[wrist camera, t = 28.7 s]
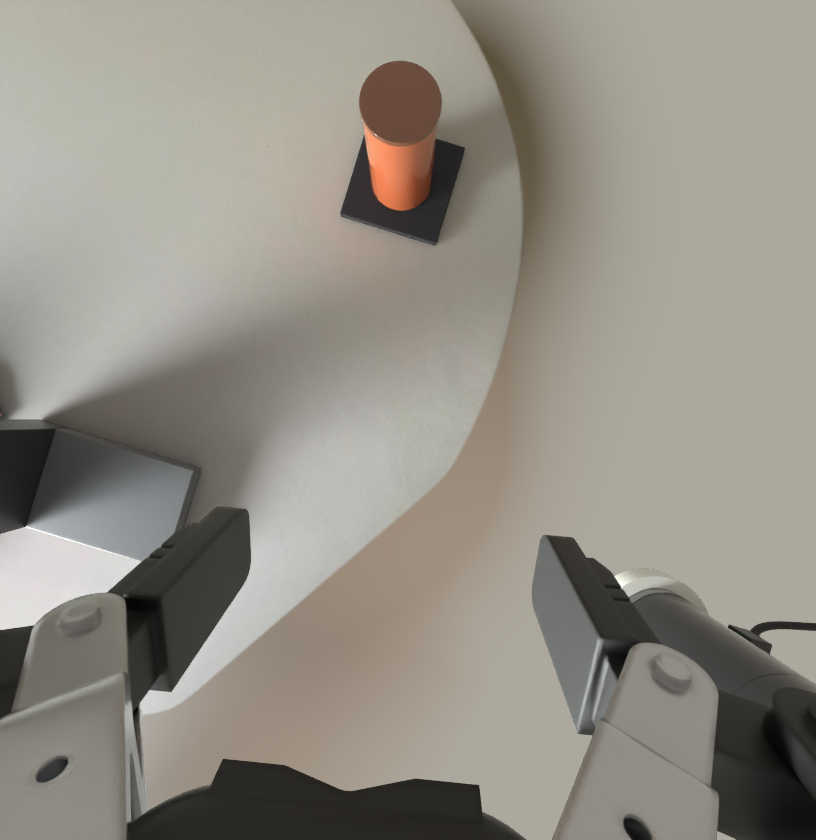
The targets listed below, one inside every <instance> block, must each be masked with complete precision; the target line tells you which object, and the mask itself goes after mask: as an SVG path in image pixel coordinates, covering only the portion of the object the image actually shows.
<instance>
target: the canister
mask: <svg viewBox="0 0 816 840" xmlns="http://www.w3.org/2000/svg"><path fill="white" fill-rule="evenodd" d="M441 106H442V99H441V93H440V90H439V87H438V85H437V83H436V81H435V79H434V78H433V77H432V75H431V74H430V73H429V72H428V71H427V70H425V69H424V68H423V67H421V66H419V65H417V64H414V63H411V62H407V61H393V62H389V63H386V64H383V65H381V66H380V67H378V68H376V69H375V70H374V71H373V72H372V73H371V74H370V75H369V76H368V77H367V79H366V80H365V82H364V84H363V86H362V89H361V92H360V97H359V108H360V114H361V118H362V120H363V126H364V134H365V141H366V148H367V155H368V162H369V169H370V176H371V183H372V188H373V191H374V194H375V195H376V197H377V199H378V200H379V201H380V202H381V203H382V204H384V205H385V206H386V207H388V208H391V209H393V210H399V211H405V210H410V209H413V208H415V207H417V206H418V205H420V204H421V203H422V202H423V201H424V200H425V199H426V197H427V196H428V194H429V191H430V188H431V183H432V174H433V165H434V156H435V148H436V139H437V130H438V121H439V118H440V114H441Z"/></svg>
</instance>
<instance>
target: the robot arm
mask: <svg viewBox="0 0 816 840" xmlns="http://www.w3.org/2000/svg"><path fill="white" fill-rule="evenodd" d="M250 564H251V548H250V524H249V513H248V511H247V510H246V509H241V508H230V507H216V508H215V509H213V510H212V511H211V512H210V513H209V514H208V515H207V516H206V517H205V518H204V519H203V520H202V521H201V522H200V523H193V524H191V525H189V526H187V527H185V528H183V529H181V530H179V531H177V532H175V533H174V534H173V535H172V536H171V537H169V538H168V539H167V540H166V541H165V542H164V543H163V544H161V547H158V548H157V549H156V550H155V551H154V552H152V553H151V554H150V555H149V558H146V559H144V560H143V561H142V562H141V563H140V564H139V565H138V566H136V567H135V568H134V569H133V570H132V571H131V572H130V573H129V574H127V575H126V576H125V577H124V578H123V579H122V580H121V581H119V582H118V583H117V584H116V585H115V586H114V587H113V588H112V589H110V590H109V591H108V592H107V593H96V594H90V595H85V596H82V597H78V598H75V599H73V600H70V601H68V602H66V603H63V604H61V605H59V606H58V607H56V608H54V609H53V610H51V611H50V612H48V613H47V614H45V615H44V616H43V617H42V618H41V619H40V620H39V621H38V622H37V623H36V624H35V625H34V626H27V627H20V628H13V629H6V630H0V840H526V839H525V838H524V837H522V836H521V835H520V834H518V833H517V832H516V831H514V830H513V829H512V828H510V827H509V826H508V825H506V824H504V823H503V822H501V821H499V820H498V819H496V818H494V817H493V816H490V815H488V814H486V813H484V812H482V808H481V798H480V789H479V785H472V784H462V783H452V782H443V781H433V780H423V779H412V780H406V781H401V782H396V783H391V784H386V785H381V786H376V787H371V788H367V789H361V790H356V791H343V790H340V789H338V788H335V787H333V786H331V785H329V784H326V783H324V782H322V781H320V780H317V779H315V778H313V777H310V776H308V775H306V774H304V773H301V772H299V771H297V770H294V769H292V768H290V767H288V766H285V765H277V764H267V763H258V762H248V761H238V760H228V759H223V760H222V762H221V764H220V767H219V769H218V771H217V773H216V775H215V778H214V780H213V782H212V784H211V785H207V786H202V787H199V788H196V789H193V790H190V791H187V792H184V793H182V794H180V795H177V796H175V797H173V798H171V799H168V800H166V801H165V802H163V803H161V804H159V805H157V806H156V807H154V808H152V809H150V810H149V811H147V805H146V790H145V773H144V754H143V736H142V719H141V707H140V702H141V701H142V699H143V698H144V696H145V695H146V694H147V692H148V691H149V690H157V691H167V692H172V690H173V689H174V687H175V686H176V684H177V683H178V681H179V680H180V678H181V677H182V675H183V674H184V672H185V671H186V669H187V668H188V666H189V665H190V663H191V662H192V660H193V659H194V657H195V656H196V655H197V653H198V652H199V650H200V649H201V647H202V646H203V644H204V643H205V641H206V640H207V638H208V637H209V635H210V634H211V632H212V631H213V629H214V628H215V626H216V625H217V623H218V622H219V620H220V619H221V617H222V616H223V614H224V613H225V611H226V610H227V608H228V607H229V605H230V604H231V602H232V601H233V599H234V598H235V596H236V595H237V593H238V592H239V590H240V589H241V587H242V586H243V584H244V583H245V581H246V579H247V576H248V573H249V570H250ZM532 602H533V607H534V611H535V614H536V617H537V619H538V622H539V625H540V628H541V631H542V633H543V636H544V639H545V642H546V645H547V648H548V650H549V653H550V656H551V659H552V661H553V665H554V667H555V670H556V673H557V676H558V678H559V682H560V684H561V687H562V690H563V693H564V696H565V698H566V701H567V704H568V707H569V710H570V712H571V715H572V718H573V721H574V724H575V727H576V729H577V732H578V734H585V735H593V736H592V739H591V741H590V744H589V746H588V749H587V752H586V754H585V757H584V759H583V762H582V764H581V767H580V769H579V772H578V774H577V777H576V780H575V782H574V785H573V787H572V790H571V792H570V795H569V798H568V800H567V802H566V805H565V808H564V810H563V813H562V815H561V818H560V821H559V823H558V826H557V828H556V830H555V833H554V836H553V838H552V840H717V831H719V832H721V833H724V834H726V835H728V836H730V837H733V838H735V839H736V840H816V684H815V683H813V682H811V681H810V680H808V679H806V678H805V677H803V676H802V675H800V674H799V673H797V672H796V671H794V670H793V669H791V668H789V667H788V666H786V665H785V664H783V663H782V662H780V661H779V660H777V659H776V658H774V657H773V656H771V655H770V651H771V648H772V645H771V644H770V643H768V642H766V641H765V640H763V639H762V638H760V636H759V635H760V634H761V633H762V632H765V631H768V630H773V629H795V630H809V631H810V630H811V631H816V623H801V622H765V623H761V624H758V625H756V626H754V627H753V628H752V629H751V631H749V630H746V629H742V628H739V627H736V626H732V625H729V626H728V627H726V626H725V625H723V624H722V623H720V622H718V621H717V620H715V619H714V618H712V617H711V616H709V615H708V614H706V613H705V612H703V611H702V610H700V609H699V608H697V607H695V606H694V605H693V604H691V603H690V602H689V601H688V600H686V599H685V598H683V597H682V596H680V595H679V594H677V593H675V592H673V591H670V590H667V589H661V588H650V589H645V590H642V591H639V592H637V593H635V594H633V595H631V596H630V597H628V596H627V594H626V593H625V591H624V590H623V589H621V586H620V584H619V583H618V581H617V580H616V578H615V577H614V576H613V574H612V573H611V571H609V570H608V569H607V568H606V567H604V566H603V565H602V564H600V563H599V562H598V561H596V560H595V559H594V558H586V556H585V555H584V553H583V552H582V550H581V549H580V547H579V546H578V544H577V542H576V541H575V539H574V538H572V537H562V536H550V535H543V536H542V538H541V540H540V545H539V550H538V556H537V561H536V567H535V573H534V578H533V584H532Z"/></svg>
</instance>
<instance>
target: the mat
mask: <svg viewBox="0 0 816 840" xmlns="http://www.w3.org/2000/svg"><path fill="white" fill-rule="evenodd" d="M464 150H465V148H464V147H460V146H457V145H454V144H451V143H448V142H444V141H441V140H438V139H436V148H435V156H434V165H433V174H432V183H431V188H430V191H429V194H428V196H427V197H426V199H425V200H424V201H423V202H422V203H421V204H420V205H418V206H417V207H415V208H413V209H410V210H405V211H399V210H393V209H391V208H388V207H386V206H385V205H384V204H382V203H381V202H380V201H379V200H378V199H377V197H376V195H375V194H374V191H373V188H372V183H371V176H370V169H369V162H368V155H367V148H366V141H365V134H364V138H363V141H362V144H361V147H360V151H359V154H358V157H357V161H356V164H355V167H354V170H353V174H352V177H351V180H350V183H349V187H348V190H347V193H346V197H345V200H344V203H343V206H342V210H341V213H340V214H341V216H342V217H345V218H348V219H351V220H355V221H358V222H361V223H364V224H367V225H371V226H374V227H377V228H380V229H384V230H387V231H390V232H393V233H397V234H400V235H403V236H406V237H409V238H413V239H416V240H419V241H422V242H426V243H429V244H432V245H436V242H437V239H438V236H439V232H440V229H441V226H442V223H443V219H444V216H445V213H446V209H447V206H448V203H449V200H450V196H451V193H452V190H453V187H454V183H455V180H456V177H457V174H458V170H459V167H460V164H461V160H462V157H463V154H464Z"/></svg>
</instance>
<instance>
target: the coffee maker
mask: <svg viewBox="0 0 816 840" xmlns="http://www.w3.org/2000/svg"><path fill="white" fill-rule="evenodd" d="M200 471H201V469H200V468H197V467H194V466H191V465H187V464H184V463H181V462H177V461H174V460H171V459H167V458H164V457H161V456H158V455H154V454H151V453H148V452H144V451H141V450H138V449H134V448H131V447H128V446H125V445H121V444H118V443H115V442H111V441H108V440H105V439H101V438H98V437H95V436H92V435H88V434H85V433H82V432H78V431H75V430H72V429H68V428H65V427H62V426H59V425H56V424H52V423H49V422H46V421H42V420H0V534H1V533H5V532H8V531H12V530H15V529H19V528H23V527H28V528H31V529H35V530H38V531H41V532H45V533H48V534H51V535H55V536H58V537H61V538H65V539H68V540H71V541H75V542H78V543H81V544H85V545H88V546H91V547H95V548H98V549H101V550H105V551H108V552H111V553H115V554H118V555H121V556H125V557H128V558H131V559H135V560H138V561H141V562H142V561H143V560H144V559H146V558H149V555H150V554H151V553H152V552H154V551H155V550H156V549H157V548H158V547H161V544H163V543H164V542H165V541H166V540H167V539H168V538H169V537H171V536H172V535H173V534H174V533H175V532H177V531H179V530H181V529H183V527H184V524H185V520H186V517H187V514H188V510H189V507H190V504H191V501H192V497H193V494H194V491H195V488H196V484H197V481H198V478H199V474H200Z"/></svg>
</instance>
